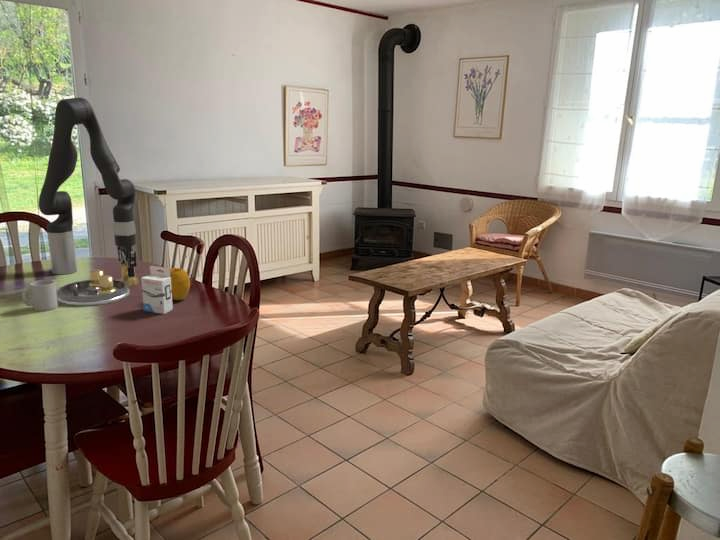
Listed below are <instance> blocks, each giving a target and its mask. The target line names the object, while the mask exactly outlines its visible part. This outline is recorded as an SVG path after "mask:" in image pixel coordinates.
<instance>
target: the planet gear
mask: <svg viewBox="0 0 720 540" xmlns="http://www.w3.org/2000/svg"><path fill="white" fill-rule="evenodd" d="M131 264H132V262H131ZM135 268H136V267H134V272H135V273H136V270H135ZM120 271H121V278H119V279H118V280H121V281H124V282H126V283H127V284H128V287H133V286H138V284H140V281H139V280H140V279H139V277H137V276H136V275H135V276H134V277H128V267H127V263H123V264H121V263H120Z"/></svg>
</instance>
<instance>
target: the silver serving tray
mask: <svg viewBox="0 0 720 540" xmlns="http://www.w3.org/2000/svg"><path fill="white" fill-rule="evenodd" d="M89 273H90V279H85V280H79V281H74V282H71V283H67V284H65V285H63V286H60V287H59V289H58V290H57V302H58V304H62V305H65V306H70V307H93V306H94V307H95V306H102V305H107V304H112V303H115V302H119V301H122V300H124V299H126V298H127V297H129V295H130V292H131V291H130V288H129V286H128V284H127V283H126V282H124V281H121V280H119V279H115V278H113V276H112V275H105V274H104V273H105V272H104V269H93V270H90V272H89Z"/></svg>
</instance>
